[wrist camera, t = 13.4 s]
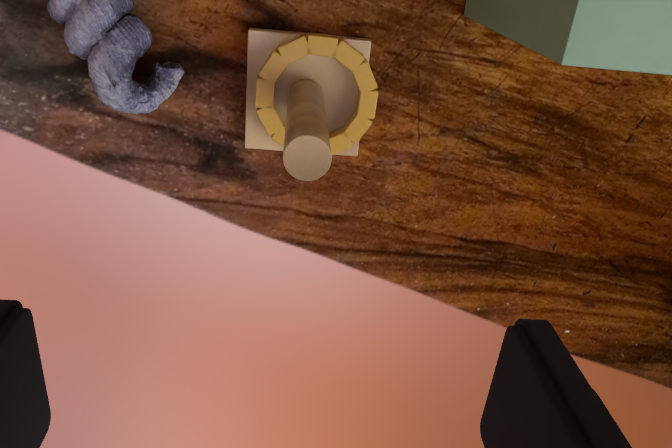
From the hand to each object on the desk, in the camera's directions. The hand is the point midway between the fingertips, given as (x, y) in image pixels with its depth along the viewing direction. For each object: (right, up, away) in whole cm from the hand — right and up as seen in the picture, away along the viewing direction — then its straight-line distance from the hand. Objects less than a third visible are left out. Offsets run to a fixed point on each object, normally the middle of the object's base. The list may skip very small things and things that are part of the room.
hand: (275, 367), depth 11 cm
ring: (0, +12, +27) cm, 30 cm away
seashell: (-13, +15, +26) cm, 33 cm away
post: (-1, +12, +28) cm, 31 cm away
